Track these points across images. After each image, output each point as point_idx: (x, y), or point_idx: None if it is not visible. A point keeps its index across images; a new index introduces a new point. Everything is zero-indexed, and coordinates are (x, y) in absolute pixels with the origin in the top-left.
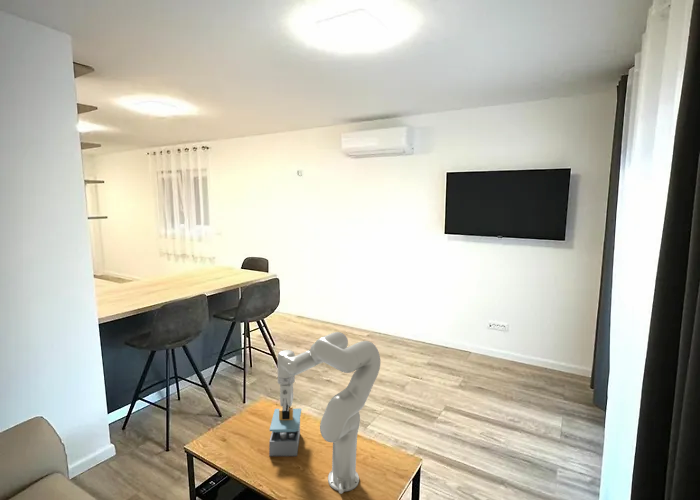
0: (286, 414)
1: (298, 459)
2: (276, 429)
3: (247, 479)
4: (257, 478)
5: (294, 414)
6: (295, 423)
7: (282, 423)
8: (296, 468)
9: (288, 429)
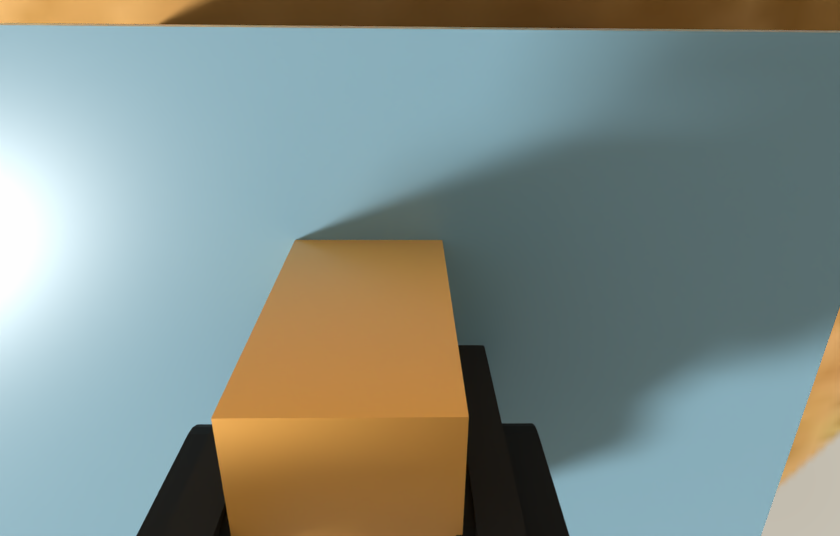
0: (559, 526)
1: (652, 12)
2: (766, 515)
3: (817, 445)
4: (830, 379)
5: (168, 213)
6: (624, 146)
7: (573, 441)
8: (801, 25)
9: (836, 295)
